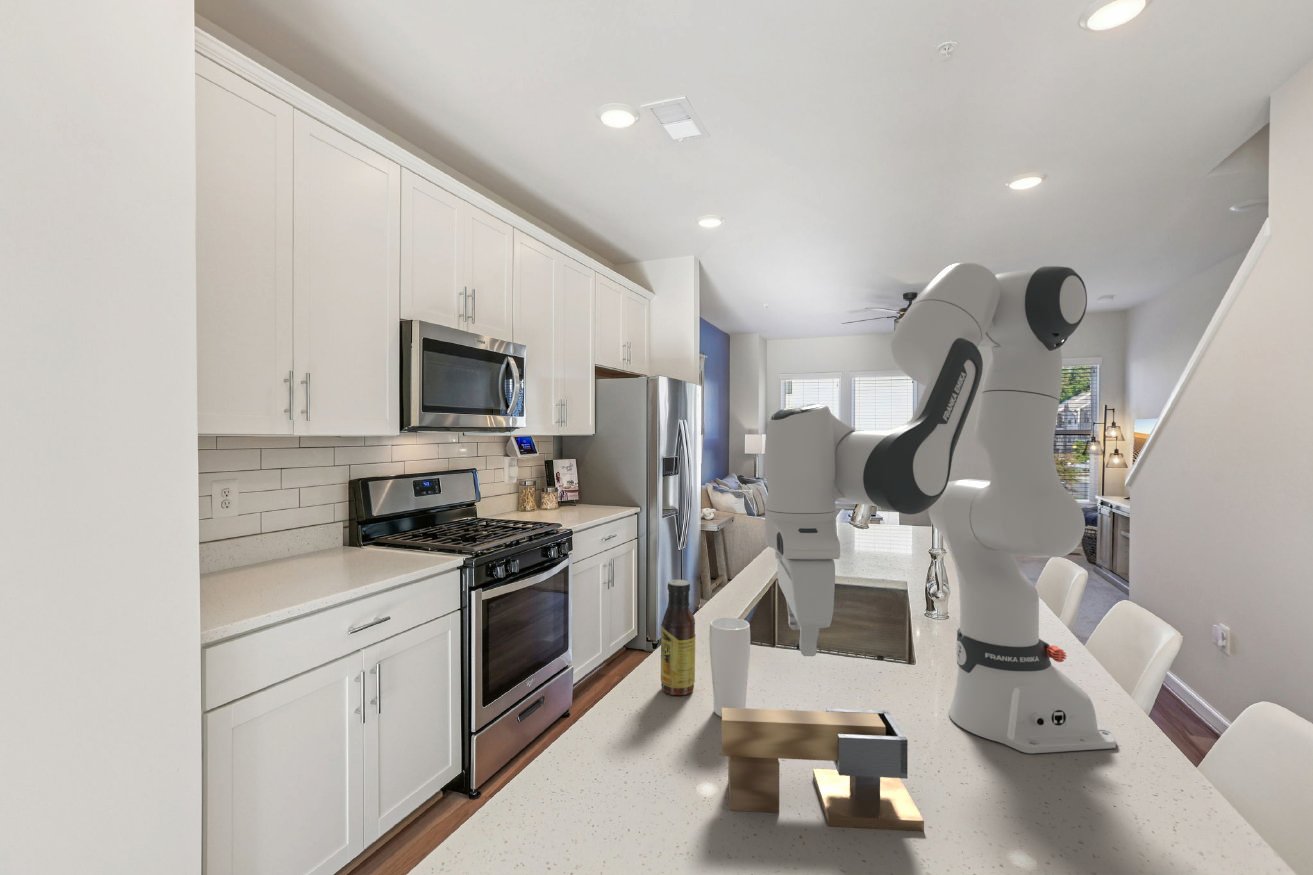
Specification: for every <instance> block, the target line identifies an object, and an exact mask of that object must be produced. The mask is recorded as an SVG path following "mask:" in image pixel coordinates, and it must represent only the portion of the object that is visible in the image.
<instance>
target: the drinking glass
mask: <svg viewBox="0 0 1313 875" xmlns="http://www.w3.org/2000/svg"><path fill="white" fill-rule="evenodd" d="M750 626H751V624H750V623H749V622H748V621H747V620H745V619H741V618H739V617H738V618H737V617H736V618H735V617H718V618H715V619H712V620H710V623H709V641H708V642H709V656H710V657H709V658H710V670H711V681H712V682H711V683H712V696H713V711H714V713H715V714H716V715H717V716H718V717H720V718H722V708H745V709H747V704H746V702H747V689H748V679H749V666H750V656H751V627H750Z"/></svg>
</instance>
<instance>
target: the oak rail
mask: <svg viewBox="0 0 1313 875" xmlns="http://www.w3.org/2000/svg"><path fill="white" fill-rule="evenodd" d="M838 734H850V735H874V736H886V727H885V725H884V723H883V722H882V720H881V719H880V717H879V715H878V714H876V713H850V712H826V711H823V710H822V711H820V710H815V711H814V710H794V709H791V710H790V709H772V708H771V709H767V708H764V709H762V708H746V709H745V708H722V717H721V754H722V755H721V756H722V757H728V756H735V757H757V758H778V760H779V759H783V760H803V761H804V760H805V761H807V760H809V761H828V762H834V761H838Z"/></svg>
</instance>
